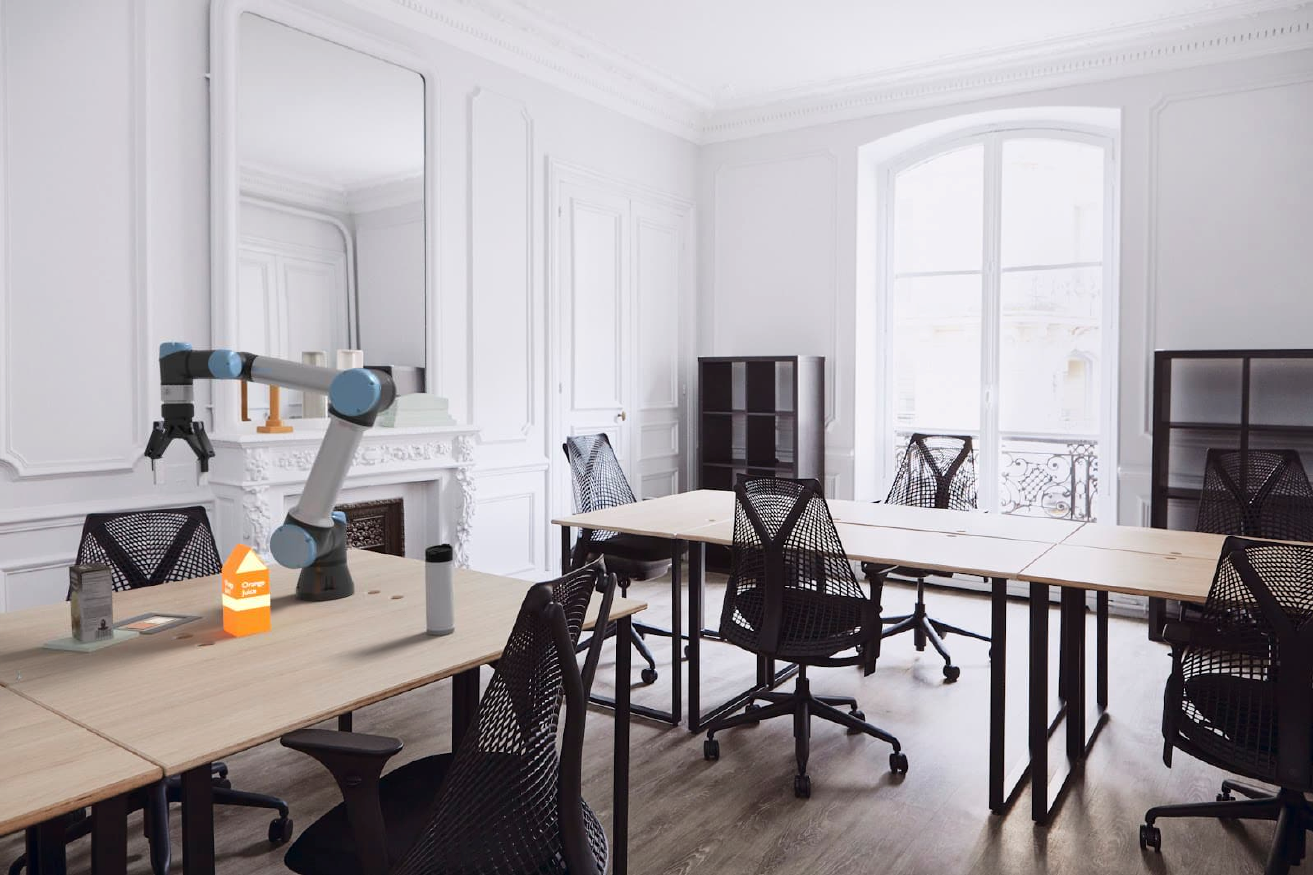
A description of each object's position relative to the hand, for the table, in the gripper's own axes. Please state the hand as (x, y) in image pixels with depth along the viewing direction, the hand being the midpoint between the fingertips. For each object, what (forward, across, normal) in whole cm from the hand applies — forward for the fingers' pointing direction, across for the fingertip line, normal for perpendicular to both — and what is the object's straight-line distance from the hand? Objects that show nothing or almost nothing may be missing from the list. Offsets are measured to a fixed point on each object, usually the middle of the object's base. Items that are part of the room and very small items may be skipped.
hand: (180, 484), depth 232 cm
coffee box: (+31, +6, -33) cm, 46 cm away
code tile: (+32, +6, -17) cm, 36 cm away
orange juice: (+32, +33, -16) cm, 49 cm away
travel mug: (+32, +78, -6) cm, 84 cm away
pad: (+32, +6, -33) cm, 46 cm away
